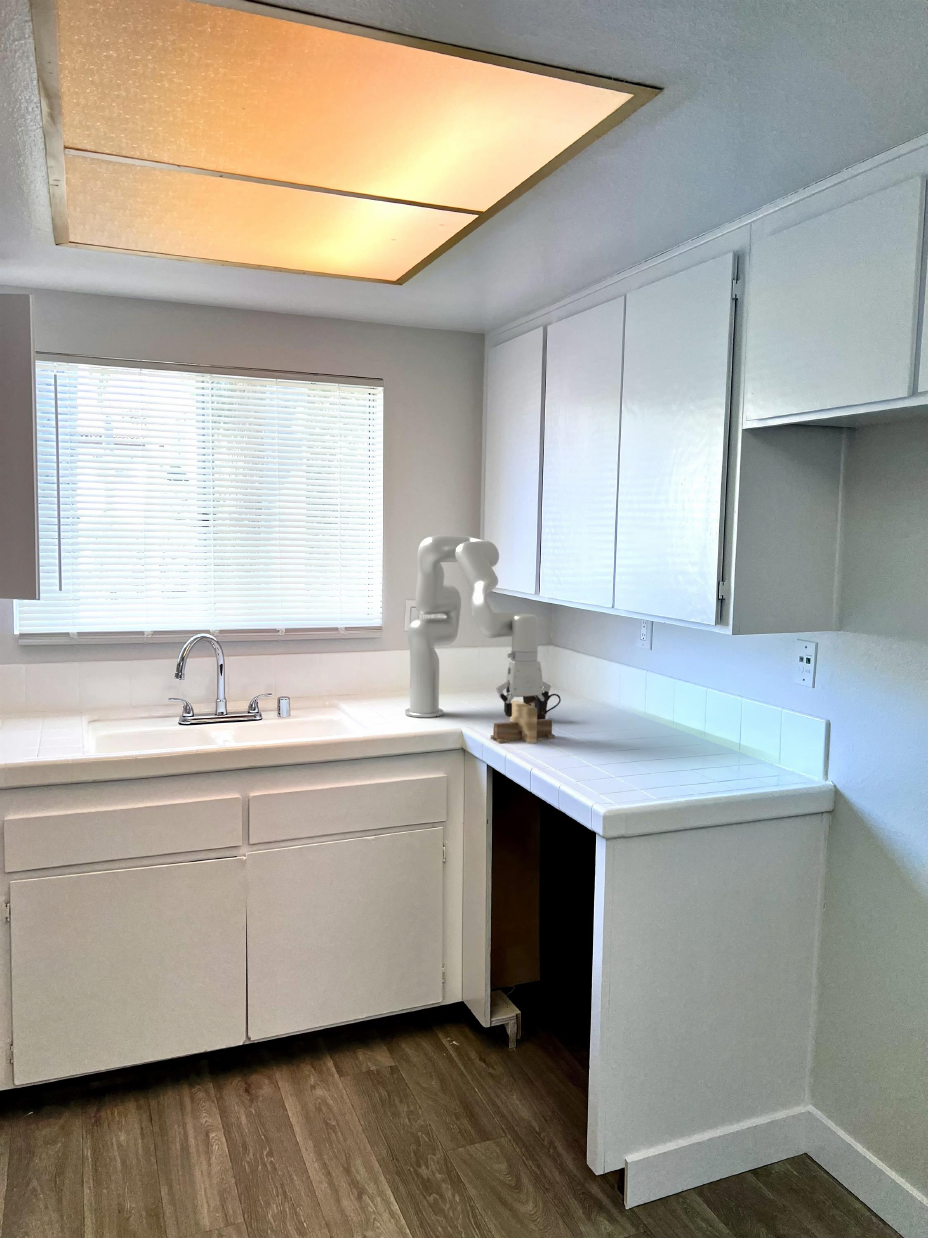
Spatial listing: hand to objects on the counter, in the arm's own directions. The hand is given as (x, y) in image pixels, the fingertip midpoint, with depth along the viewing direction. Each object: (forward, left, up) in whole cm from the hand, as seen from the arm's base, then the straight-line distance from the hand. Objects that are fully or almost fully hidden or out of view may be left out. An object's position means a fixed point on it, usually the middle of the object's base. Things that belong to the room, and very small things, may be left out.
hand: (523, 714), depth 265 cm
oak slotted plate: (0, 0, -7) cm, 7 cm away
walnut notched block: (0, 0, -7) cm, 7 cm away
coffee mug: (-20, +16, -7) cm, 27 cm away
